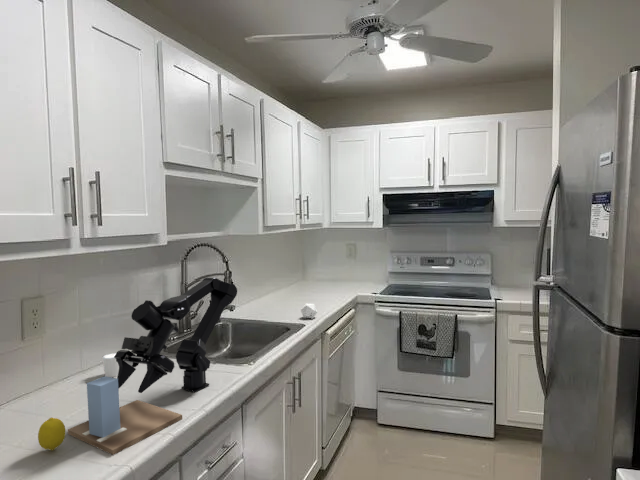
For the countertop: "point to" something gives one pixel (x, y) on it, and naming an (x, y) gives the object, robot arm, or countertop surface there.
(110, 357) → the shot glass
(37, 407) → the countertop surface
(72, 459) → the countertop surface
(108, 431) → the light blue block
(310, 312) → the die
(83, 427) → the board
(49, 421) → the lemon
